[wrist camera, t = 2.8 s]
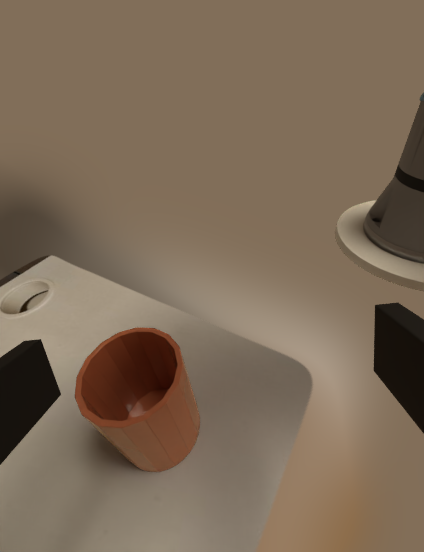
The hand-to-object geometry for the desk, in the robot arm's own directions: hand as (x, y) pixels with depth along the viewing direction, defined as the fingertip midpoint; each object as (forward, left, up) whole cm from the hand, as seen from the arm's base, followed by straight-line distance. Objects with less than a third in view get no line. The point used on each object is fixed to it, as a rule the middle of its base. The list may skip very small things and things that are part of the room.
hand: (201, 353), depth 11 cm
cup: (+2, -6, -17) cm, 19 cm away
